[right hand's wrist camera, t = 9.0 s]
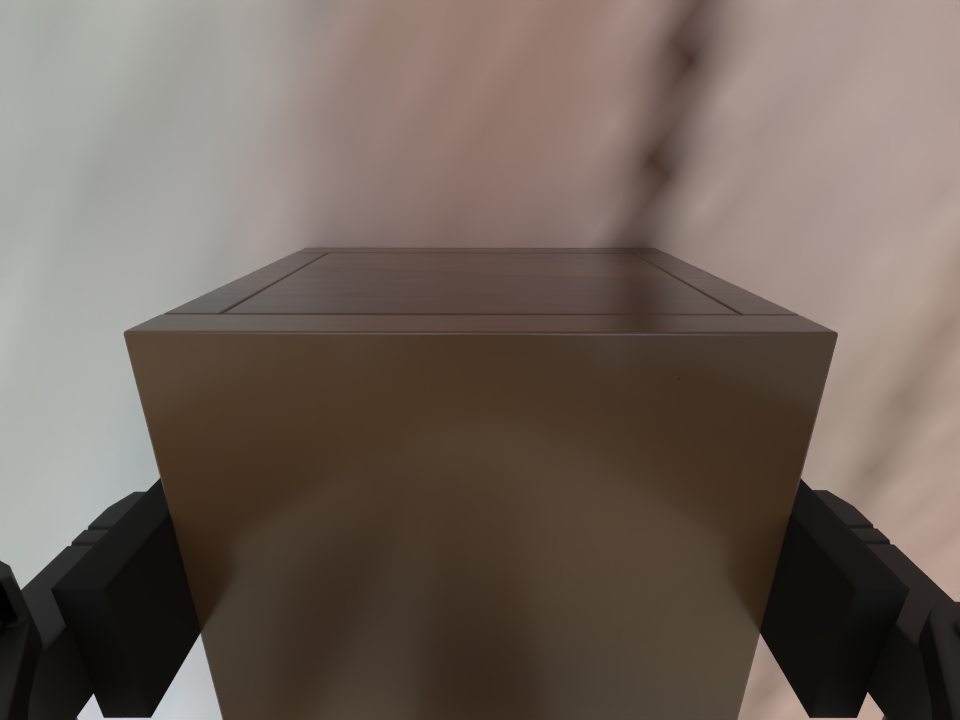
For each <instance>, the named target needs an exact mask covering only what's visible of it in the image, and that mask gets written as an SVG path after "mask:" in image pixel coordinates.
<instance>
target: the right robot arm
mask: <svg viewBox="0 0 960 720" xmlns="http://www.w3.org/2000/svg"><path fill="white" fill-rule="evenodd" d="M199 634H200V629H199V625H198V621H197V618H196V614H195V610H194V606H193V602H192V598H191V594H190V590H189V586H188V583H187V579H186V575H185V571H184V567H183V563H182V559H181V555H180V551H179V548H178V544H177V540H176V536H175V532H174V528H173V524H172V520H171V516H170V513H169V509H168V505H167V501H166V497H165V493H164V489H163V485H162V481H161V478H160V479H159V480H158V481H157V482H156V483H155V484H154V485H153V486H152V487H151V488H150V489H149V490H148V491H147V492H133V493H132V494H130V495H128V496H127V497H125V498H123V499H122V500H120V501H118V502H117V503H115V504H113V505H112V506H110V507H108V508H107V509H106V510H105V511H104V512H103V513H102V514H101V515H100V516H99V517H98V518H97V519H96V520H94V521H93V522H92V523H91V524H90V525H89V526H88V530H84V531H83V532H82V533H81V534H80V535H79V536H78V537H77V538H76V539H74V540H73V541H72V545H71V546H67V547H66V548H65V549H64V550H63V551H62V552H61V553H60V554H59V555H58V556H57V557H56V558H55V559H53V560H52V561H51V562H50V563H49V564H48V565H47V566H46V567H45V568H44V569H43V570H42V571H41V572H40V573H39V574H38V575H37V576H36V577H35V578H33V579H32V580H31V581H30V582H29V583H28V584H27V585H26V586H25V587H24V588H23V589H22V590H20V588H19V586H18V583H17V581H16V579H15V577H14V574H13V572H12V570H11V568H10V566H9V565H7V564H5V563H3V562H2V561H0V720H78V719H77V716H78V714H79V713H80V712H81V710H82V709H83V707H84V706H85V705H86V703H87V702H88V700H89V699H90V698H91V696H92V695H93V693H94V695H95V697H96V700H97V702H98V705H99V707H100V709H101V712H102V714H103V717H104V718H151V717H152V715H153V713H154V712H155V710H156V708H157V706H158V705H159V703H160V701H161V700H162V698H163V696H164V694H165V693H166V691H167V689H168V688H169V686H170V684H171V682H172V681H173V679H174V677H175V676H176V674H177V672H178V670H179V669H180V667H181V665H182V664H183V662H184V660H185V658H186V657H187V655H188V653H189V652H190V650H191V648H192V646H193V645H194V643H195V641H196V640H197V638H198V636H199ZM760 634H761V635H762V637H763V639H764V640H765V642H766V644H767V646H768V647H769V649H770V651H771V652H772V654H773V656H774V658H775V659H776V661H777V663H778V664H779V666H780V668H781V670H782V671H783V673H784V675H785V676H786V678H787V680H788V682H789V683H790V685H791V687H792V688H793V690H794V692H795V694H796V695H797V697H798V699H799V700H800V702H801V704H802V706H803V707H804V709H805V711H806V712H807V714H808V716H809V718H857V716H858V714H859V711H860V709H861V706H862V704H863V702H864V699H865V697H866V694H867V692H868V693H869V694H870V695H871V697H872V698H873V700H874V701H875V702H876V704H877V705H878V707H879V708H880V709H881V711H882V712H883V713H884V717H883V719H882V720H960V602H954V601H953V600H952V599H951V598H950V597H949V596H948V595H947V594H946V593H945V592H944V591H943V590H942V589H941V588H939V587H938V586H937V585H936V584H935V583H934V582H933V581H932V580H931V579H930V578H929V577H928V576H927V575H926V574H925V573H924V572H923V571H921V570H920V569H919V568H918V567H917V566H916V565H915V564H914V563H913V562H912V561H911V560H910V559H909V558H908V557H907V556H906V555H905V554H903V553H902V552H901V551H900V550H899V549H898V548H897V547H896V546H895V545H891V544H890V540H889V539H888V538H887V537H885V536H884V535H883V534H882V533H881V532H880V531H879V530H878V529H874V528H873V524H872V523H871V522H870V521H869V520H868V519H866V518H865V517H864V516H863V515H862V514H861V513H860V512H859V511H858V510H857V509H856V508H855V507H854V506H852V505H851V504H849V503H847V502H846V501H844V500H842V499H840V498H839V497H837V496H835V495H834V494H832V493H830V492H829V491H827V490H812V489H811V488H810V487H809V486H808V485H807V484H806V483H805V482H804V481H803V480H802V479H801V478H800V482H799V486H798V490H797V493H796V497H795V501H794V505H793V509H792V513H791V516H790V520H789V524H788V528H787V532H786V535H785V539H784V543H783V547H782V551H781V555H780V558H779V562H778V566H777V570H776V574H775V578H774V581H773V585H772V589H771V593H770V597H769V601H768V604H767V608H766V612H765V616H764V620H763V624H762V627H761V631H760Z"/></svg>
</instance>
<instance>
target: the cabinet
mask: <svg viewBox="0 0 960 720" xmlns="http://www.w3.org/2000/svg"><path fill="white" fill-rule="evenodd" d="M124 337H125V341H126V345H127V349H128V353H129V357H130V361H131V365H132V368H133V372H134V376H135V380H136V384H137V388H138V392H139V396H140V400H141V404H142V407H143V411H144V415H145V419H146V423H147V427H148V431H149V435H150V439H151V442H152V446H153V450H154V454H155V458H156V462H157V466H158V470H159V474H160V477H161V481H162V485H163V489H164V493H165V497H166V501H167V505H168V509H169V513H170V516H171V520H172V524H173V528H174V532H175V536H176V540H177V544H178V548H179V551H180V555H181V559H182V563H183V567H184V571H185V575H186V579H187V583H188V586H189V590H190V594H191V598H192V602H193V606H194V610H195V614H196V618H197V621H198V625H199V629H200V633H201V637H202V641H203V645H204V649H205V653H206V657H207V660H208V664H209V668H210V672H211V676H212V680H213V684H214V688H215V692H216V695H217V699H218V703H219V707H220V711H221V715H222V719H223V720H737V719H738V715H739V712H740V708H741V704H742V700H743V696H744V692H745V689H746V685H747V681H748V677H749V673H750V669H751V666H752V662H753V658H754V654H755V650H756V646H757V643H758V639H759V635H760V631H761V627H762V624H763V620H764V616H765V612H766V608H767V604H768V601H769V597H770V593H771V589H772V585H773V581H774V578H775V574H776V570H777V566H778V562H779V558H780V555H781V551H782V547H783V543H784V539H785V535H786V532H787V528H788V524H789V520H790V516H791V513H792V509H793V505H794V501H795V497H796V493H797V490H798V486H799V482H800V478H801V474H802V471H803V467H804V463H805V459H806V455H807V451H808V448H809V444H810V440H811V436H812V432H813V428H814V425H815V421H816V417H817V413H818V409H819V406H820V402H821V398H822V394H823V390H824V386H825V383H826V379H827V375H828V371H829V367H830V363H831V360H832V356H833V352H834V348H835V344H836V340H837V337H838V333H837V332H835V331H833V330H830V329H828V328H826V327H824V326H822V325H820V324H817V323H815V322H813V321H811V320H809V319H807V318H804V317H802V316H799V315H798V314H796V313H794V312H791V311H789V310H787V309H785V308H783V307H781V306H779V305H776V304H774V303H772V302H770V301H768V300H766V299H763V298H761V297H759V296H757V295H755V294H753V293H751V292H748V291H746V290H744V289H742V288H740V287H738V286H735V285H733V284H731V283H729V282H727V281H725V280H723V279H720V278H718V277H716V276H714V275H712V274H710V273H707V272H705V271H703V270H701V269H699V268H697V267H695V266H692V265H690V264H688V263H686V262H684V261H682V260H679V259H677V258H675V257H673V256H671V255H669V254H666V253H664V252H662V251H659V250H657V249H655V248H305V249H302V250H300V251H298V252H296V253H294V254H292V255H289V256H287V257H285V258H283V259H281V260H279V261H276V262H274V263H272V264H270V265H268V266H266V267H263V268H261V269H259V270H257V271H255V272H253V273H251V274H248V275H246V276H244V277H242V278H240V279H238V280H235V281H233V282H231V283H229V284H227V285H225V286H222V287H220V288H218V289H216V290H214V291H212V292H210V293H207V294H205V295H203V296H201V297H199V298H197V299H194V300H192V301H190V302H188V303H186V304H184V305H181V306H179V307H177V308H175V309H173V310H171V311H169V312H166V313H164V314H163V315H159V316H157V317H155V318H153V319H150V320H148V321H146V322H144V323H142V324H140V325H137V326H135V327H133V328H131V329H129V330H127V331H125V332H124Z"/></svg>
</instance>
